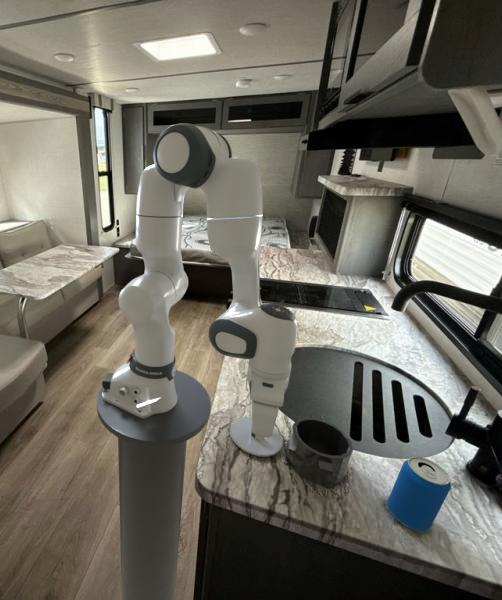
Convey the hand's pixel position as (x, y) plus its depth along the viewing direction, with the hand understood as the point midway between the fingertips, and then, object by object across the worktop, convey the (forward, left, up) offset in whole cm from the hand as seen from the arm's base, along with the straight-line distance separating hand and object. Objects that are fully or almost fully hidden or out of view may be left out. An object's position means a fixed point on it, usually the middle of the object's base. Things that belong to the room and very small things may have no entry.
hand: (260, 423), depth 74 cm
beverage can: (+27, -9, -5) cm, 29 cm away
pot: (+12, -2, -5) cm, 13 cm away
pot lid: (-1, 0, -4) cm, 4 cm away
